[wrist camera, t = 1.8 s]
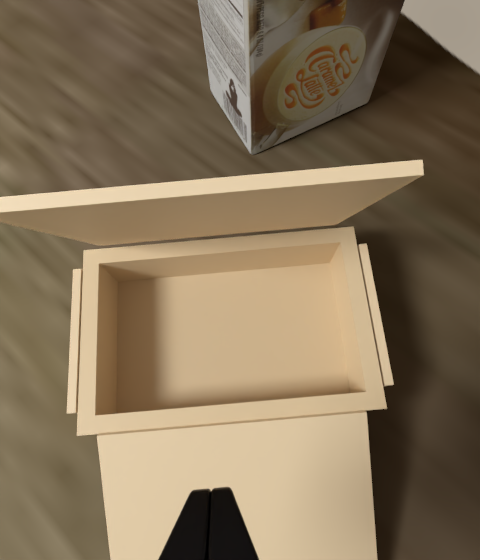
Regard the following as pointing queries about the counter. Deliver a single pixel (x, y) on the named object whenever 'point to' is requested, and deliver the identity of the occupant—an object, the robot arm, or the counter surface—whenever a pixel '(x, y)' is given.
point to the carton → (233, 387)
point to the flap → (209, 204)
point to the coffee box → (293, 61)
